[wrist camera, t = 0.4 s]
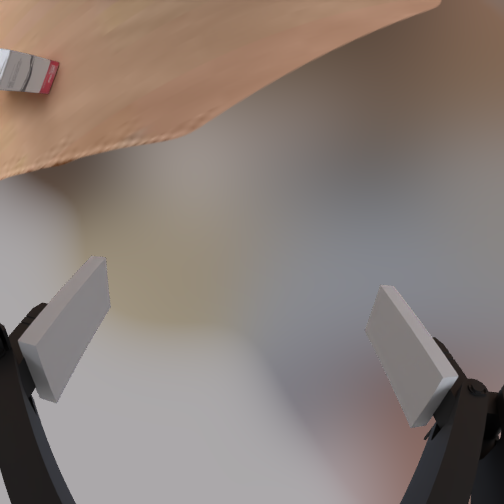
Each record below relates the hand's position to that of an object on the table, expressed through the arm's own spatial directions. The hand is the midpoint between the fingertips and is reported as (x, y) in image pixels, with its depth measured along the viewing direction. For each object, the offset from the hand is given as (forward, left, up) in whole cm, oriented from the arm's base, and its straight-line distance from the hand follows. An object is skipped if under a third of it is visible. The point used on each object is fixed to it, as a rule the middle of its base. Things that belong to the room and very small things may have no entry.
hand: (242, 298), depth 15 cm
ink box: (-18, -30, -27) cm, 44 cm away
